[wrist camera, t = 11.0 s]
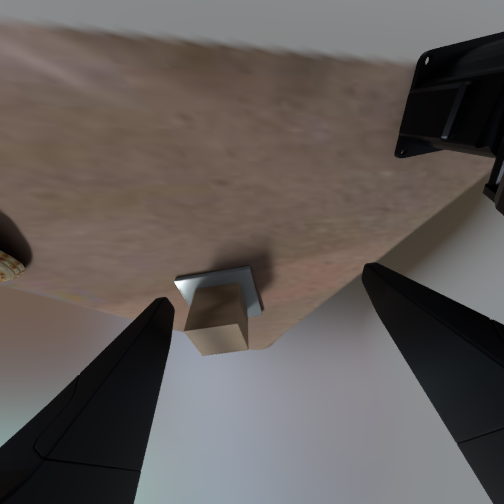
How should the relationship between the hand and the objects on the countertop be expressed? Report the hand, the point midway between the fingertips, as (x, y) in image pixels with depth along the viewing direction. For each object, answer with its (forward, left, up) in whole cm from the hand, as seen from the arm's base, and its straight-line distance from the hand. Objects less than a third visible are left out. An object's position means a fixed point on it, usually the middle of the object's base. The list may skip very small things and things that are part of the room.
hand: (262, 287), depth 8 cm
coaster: (+7, +14, -12) cm, 20 cm away
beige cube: (+7, +14, -11) cm, 19 cm away
